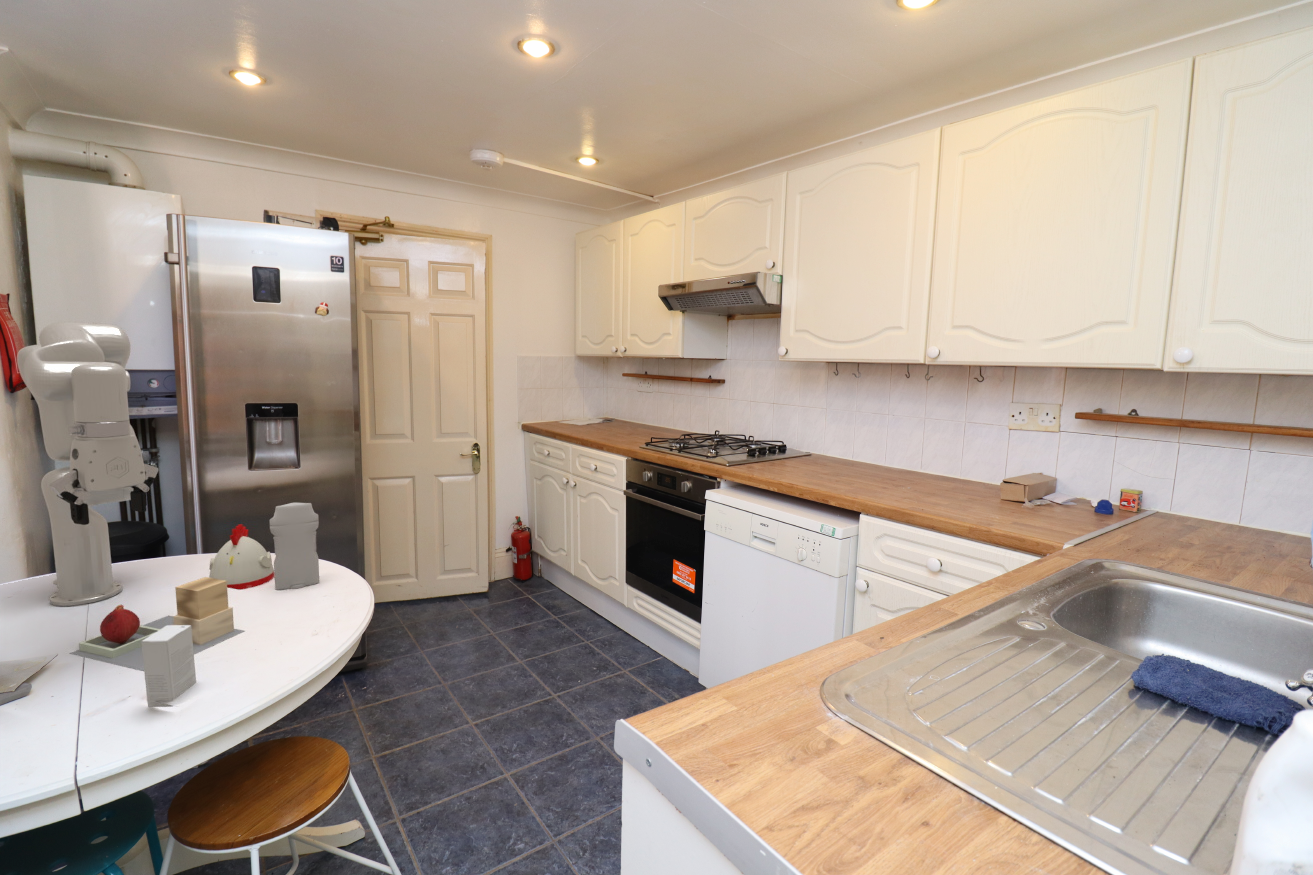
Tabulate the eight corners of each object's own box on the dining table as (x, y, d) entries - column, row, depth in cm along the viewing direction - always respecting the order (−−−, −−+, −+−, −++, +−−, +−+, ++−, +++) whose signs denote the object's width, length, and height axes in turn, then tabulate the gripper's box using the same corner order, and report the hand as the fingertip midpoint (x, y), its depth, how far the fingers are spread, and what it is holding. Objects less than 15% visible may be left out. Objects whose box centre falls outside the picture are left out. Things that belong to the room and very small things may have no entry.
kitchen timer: (198, 592, 146) (194, 533, 144) (224, 572, 160) (221, 518, 158) (261, 589, 150) (258, 531, 148) (282, 570, 163) (279, 517, 161)
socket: (79, 650, 115) (78, 642, 115) (132, 629, 124) (131, 623, 123) (113, 658, 112) (112, 650, 112) (164, 636, 121) (164, 629, 121)
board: (69, 659, 114) (69, 653, 114) (169, 620, 131) (168, 615, 131) (153, 679, 108) (152, 673, 108) (245, 636, 125) (245, 630, 125)
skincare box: (172, 687, 105) (167, 624, 104) (197, 687, 106) (192, 624, 104) (145, 707, 99) (140, 640, 98) (172, 707, 100) (167, 640, 98)
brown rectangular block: (174, 639, 120) (172, 615, 120) (209, 624, 127) (207, 602, 126) (200, 644, 118) (198, 621, 118) (234, 629, 125) (232, 607, 124)
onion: (116, 652, 114) (112, 613, 113) (94, 648, 116) (90, 609, 115) (148, 638, 120) (145, 601, 119) (126, 635, 121) (122, 597, 120)
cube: (177, 615, 120) (175, 586, 119) (207, 603, 126) (205, 576, 125) (199, 619, 118) (197, 591, 118) (228, 607, 124) (226, 580, 123)
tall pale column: (273, 592, 148) (268, 506, 145) (272, 587, 151) (268, 503, 148) (322, 584, 154) (318, 502, 151) (320, 579, 157) (316, 498, 154)
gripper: (61, 437, 103) (70, 531, 105) (166, 426, 120) (172, 508, 122) (32, 433, 105) (41, 526, 107) (139, 424, 122) (146, 504, 124)
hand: (111, 517), depth 115 cm, fingers open, 9 cm apart
